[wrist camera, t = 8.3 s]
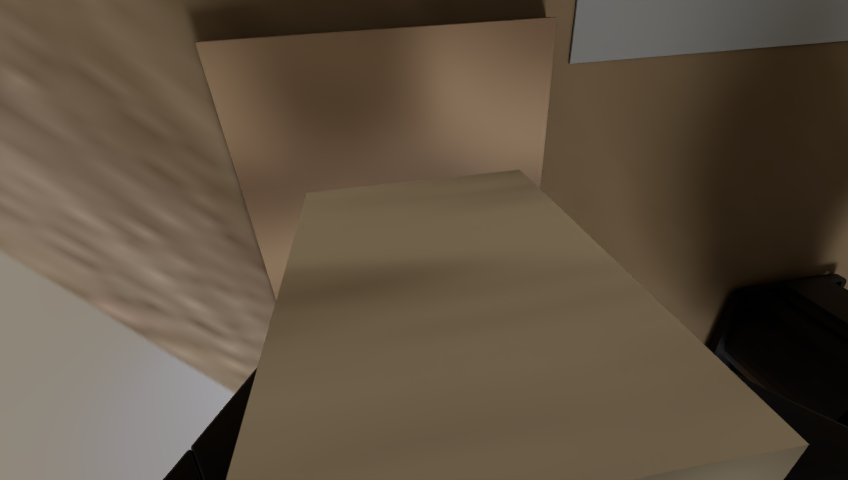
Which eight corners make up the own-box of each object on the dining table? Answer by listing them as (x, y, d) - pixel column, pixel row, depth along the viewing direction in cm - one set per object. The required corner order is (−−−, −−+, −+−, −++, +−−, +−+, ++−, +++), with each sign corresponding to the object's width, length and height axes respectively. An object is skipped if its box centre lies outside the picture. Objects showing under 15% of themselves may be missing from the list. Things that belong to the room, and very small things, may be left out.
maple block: (508, 326, 12) (663, 644, 6) (342, 351, 11) (326, 726, 5) (519, 169, 9) (808, 444, 3) (306, 192, 9) (203, 563, 3)
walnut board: (523, 282, 19) (529, 292, 18) (287, 315, 18) (284, 327, 17) (546, 17, 13) (557, 17, 12) (204, 41, 12) (195, 42, 11)
